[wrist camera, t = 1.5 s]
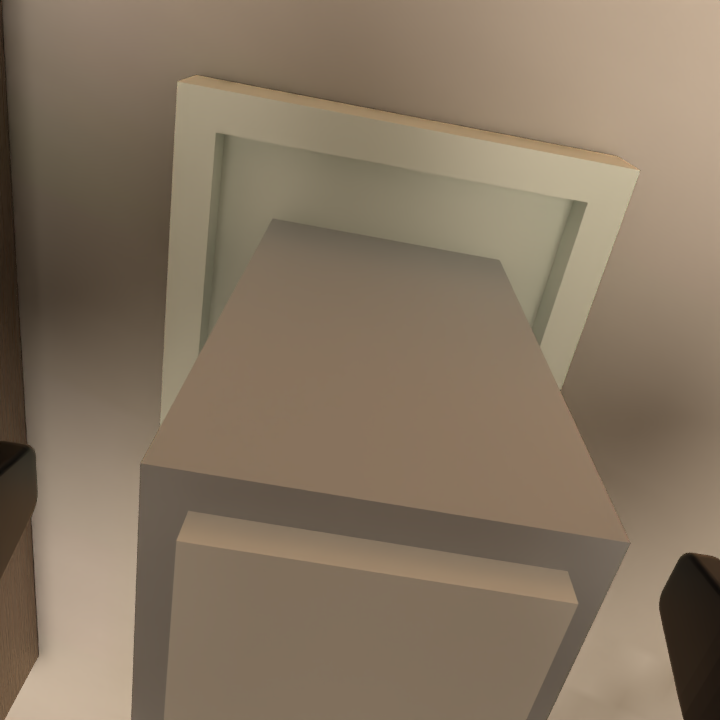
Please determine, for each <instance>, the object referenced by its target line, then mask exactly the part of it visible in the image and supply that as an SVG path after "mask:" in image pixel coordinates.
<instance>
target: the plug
mask: <svg viewBox="0 0 720 720" xmlns="http://www.w3.org/2000/svg"><path fill="white" fill-rule="evenodd" d="M629 545H630V541H629V538H628V536H627V534H626V532H625V530H624V528H623V525H622V523H621V521H620V519H619V517H618V515H617V513H616V510H615V508H614V506H613V504H612V502H611V500H610V497H609V495H608V493H607V491H606V489H605V487H604V484H603V482H602V480H601V478H600V476H599V474H598V471H597V469H596V467H595V465H594V463H593V461H592V459H591V456H590V454H589V452H588V450H587V448H586V446H585V443H584V441H583V439H582V437H581V435H580V433H579V430H578V428H577V426H576V424H575V422H574V420H573V417H572V415H571V413H570V411H569V409H568V407H567V405H566V402H565V400H564V398H563V396H562V394H561V392H560V389H559V387H558V385H557V383H556V381H555V379H554V376H553V374H552V372H551V370H550V368H549V366H548V363H547V361H546V359H545V357H544V355H543V353H542V351H541V348H540V346H539V344H538V342H537V340H536V338H535V335H534V333H533V331H532V329H531V327H530V325H529V322H528V320H527V318H526V316H525V314H524V312H523V309H522V307H521V305H520V303H519V301H518V299H517V296H516V294H515V292H514V290H513V288H512V286H511V284H510V281H509V279H508V277H507V275H506V273H505V271H504V268H503V266H502V264H501V262H500V260H497V259H491V258H486V257H480V256H475V255H469V254H464V253H458V252H453V251H447V250H442V249H437V248H431V247H426V246H420V245H415V244H409V243H404V242H398V241H393V240H387V239H382V238H376V237H371V236H366V235H360V234H355V233H349V232H344V231H338V230H333V229H327V228H322V227H316V226H311V225H305V224H300V223H295V222H289V221H284V220H278V219H272V221H271V222H270V224H269V226H268V228H267V230H266V232H265V234H264V235H263V237H262V239H261V241H260V243H259V245H258V247H257V248H256V250H255V252H254V254H253V256H252V258H251V259H250V261H249V263H248V265H247V267H246V269H245V271H244V272H243V274H242V276H241V278H240V280H239V282H238V284H237V285H236V287H235V289H234V291H233V293H232V295H231V297H230V298H229V300H228V302H227V304H226V306H225V308H224V310H223V311H222V313H221V315H220V317H219V319H218V321H217V323H216V324H215V326H214V328H213V330H212V332H211V334H210V335H209V337H208V339H207V341H206V343H205V345H204V347H203V348H202V350H201V352H200V354H199V356H198V358H197V360H196V361H195V363H194V365H193V367H192V369H191V371H190V373H189V374H188V376H187V378H186V380H185V382H184V384H183V386H182V387H181V389H180V391H179V393H178V395H177V397H176V399H175V400H174V402H173V404H172V406H171V408H170V410H169V411H168V413H167V415H166V417H165V419H164V421H163V423H162V424H161V426H160V428H159V430H158V432H157V434H156V436H155V437H154V439H153V441H152V443H151V445H150V447H149V449H148V450H147V452H146V454H145V456H144V458H143V460H142V462H141V465H140V492H139V520H138V547H137V575H136V602H135V630H134V657H133V685H132V712H131V720H547V719H548V716H549V714H550V712H551V710H552V708H553V706H554V704H555V702H556V700H557V697H558V695H559V693H560V691H561V689H562V687H563V685H564V683H565V681H566V678H567V676H568V674H569V672H570V670H571V668H572V666H573V664H574V662H575V659H576V657H577V655H578V653H579V651H580V649H581V647H582V645H583V642H584V640H585V638H586V636H587V634H588V632H589V630H590V628H591V626H592V623H593V621H594V619H595V617H596V615H597V613H598V611H599V609H600V607H601V604H602V602H603V600H604V598H605V596H606V594H607V592H608V590H609V588H610V585H611V583H612V581H613V579H614V577H615V575H616V573H617V571H618V568H619V566H620V564H621V562H622V560H623V558H624V556H625V554H626V552H627V549H628V547H629Z"/></svg>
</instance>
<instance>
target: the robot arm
mask: <svg viewBox="0 0 720 720" xmlns="http://www.w3.org/2000/svg"><path fill="white" fill-rule="evenodd" d="M36 502H37V474H36V456H35V451H34V449H33V448H32V447H31V446H30V445H28V444H22V443H16V442H10V441H0V581H1V579H2V576H3V574H4V572H5V570H6V568H7V566H8V564H9V562H10V560H11V558H12V556H13V553H14V551H15V549H16V547H17V545H18V543H19V541H20V539H21V537H22V535H23V533H24V530H25V528H26V526H27V524H28V522H29V520H30V518H31V516H32V514H33V511H34V509H35V506H36ZM659 610H660V616H661V620H662V625H663V630H664V634H665V639H666V643H667V648H668V653H669V657H670V662H671V667H672V671H673V676H674V681H675V685H676V690H677V695H678V699H679V703H680V707H681V711H682V715H683V719H684V720H720V560H719V559H718V558H716V557H713V556H709V555H703V554H697V553H685V554H683V555H682V556H681V557H680V559H679V560H678V562H677V564H676V566H675V568H674V570H673V571H672V573H671V575H670V577H669V579H668V581H667V583H666V585H665V587H664V589H663V591H662V593H661V596H660V602H659Z"/></svg>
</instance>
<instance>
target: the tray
mask: <svg viewBox="0 0 720 720" xmlns="http://www.w3.org/2000/svg"><path fill="white" fill-rule="evenodd" d="M640 171H641V170H639V169H637V168H636V167H634V166H633V165H631V164H629V163H628V162H626V161H625V160H623V159H621V158H620V157H618V156H614V155H609V154H604V153H599V152H593V151H588V150H583V149H578V148H573V147H568V146H562V145H557V144H552V143H547V142H542V141H536V140H531V139H526V138H521V137H516V136H511V135H505V134H500V133H495V132H490V131H485V130H479V129H474V128H469V127H464V126H459V125H454V124H448V123H443V122H438V121H433V120H428V119H422V118H417V117H412V116H407V115H402V114H397V113H391V112H386V111H381V110H376V109H371V108H365V107H360V106H355V105H350V104H345V103H340V102H334V101H329V100H324V99H319V98H314V97H308V96H303V95H298V94H293V93H288V92H283V91H277V90H272V89H267V88H262V87H257V86H251V85H246V84H241V83H236V82H231V81H226V80H220V79H215V78H210V77H205V76H200V75H194V76H191V77H189V78H186V79H183V80H180V81H177V94H176V114H175V133H174V153H173V173H172V193H171V212H170V232H169V252H168V272H167V291H166V311H165V331H164V351H163V370H162V390H161V410H160V426H161V424H162V423H163V421H164V419H165V417H166V415H167V413H168V411H169V410H170V408H171V406H172V404H173V402H174V400H175V399H176V397H177V395H178V393H179V391H180V389H181V387H182V386H183V384H184V382H185V380H186V378H187V376H188V374H189V373H190V371H191V369H192V367H193V365H194V363H195V361H196V360H197V358H198V356H199V354H200V352H201V350H202V348H203V347H204V345H205V343H206V341H207V339H208V337H209V335H210V334H211V332H212V330H213V328H214V326H215V324H216V323H217V321H218V319H219V317H220V315H221V313H222V311H223V310H224V308H225V306H226V304H227V302H228V300H229V298H230V297H231V295H232V293H233V291H234V289H235V287H236V285H237V284H238V282H239V280H240V278H241V276H242V274H243V272H244V271H245V269H246V267H247V265H248V263H249V261H250V259H251V258H252V256H253V254H254V252H255V250H256V248H257V247H258V245H259V243H260V241H261V239H262V237H263V235H264V234H265V232H266V230H267V228H268V226H269V224H270V222H271V221H272V219H278V220H284V221H289V222H295V223H300V224H305V225H311V226H316V227H322V228H327V229H333V230H338V231H344V232H349V233H355V234H360V235H366V236H371V237H376V238H382V239H387V240H393V241H398V242H404V243H409V244H415V245H420V246H426V247H431V248H437V249H442V250H447V251H453V252H458V253H464V254H469V255H475V256H480V257H486V258H491V259H497V260H500V262H501V264H502V266H503V268H504V271H505V273H506V275H507V277H508V279H509V281H510V284H511V286H512V288H513V290H514V292H515V294H516V296H517V299H518V301H519V303H520V305H521V307H522V309H523V312H524V314H525V316H526V318H527V320H528V322H529V325H530V327H531V329H532V331H533V333H534V335H535V338H536V340H537V342H538V344H539V346H540V348H541V351H542V353H543V355H544V357H545V359H546V361H547V363H548V366H549V368H550V370H551V372H552V374H553V376H554V379H555V381H556V383H557V385H558V387H559V389H560V391H561V389H562V386H563V383H564V380H565V378H566V375H567V372H568V369H569V367H570V364H571V361H572V358H573V355H574V353H575V350H576V347H577V344H578V342H579V339H580V336H581V333H582V331H583V328H584V325H585V322H586V320H587V317H588V314H589V311H590V309H591V306H592V303H593V300H594V298H595V295H596V292H597V289H598V286H599V284H600V281H601V278H602V275H603V273H604V270H605V267H606V264H607V262H608V259H609V256H610V253H611V251H612V248H613V245H614V242H615V240H616V237H617V234H618V231H619V229H620V226H621V223H622V220H623V217H624V215H625V212H626V209H627V206H628V204H629V201H630V198H631V195H632V193H633V190H634V187H635V184H636V182H637V179H638V176H639V173H640Z"/></svg>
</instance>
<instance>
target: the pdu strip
mask: <svg viewBox="0 0 720 720" xmlns="http://www.w3.org/2000/svg"><path fill="white" fill-rule="evenodd" d="M0 441H10V442H16V443H22V444H26V429H25V412H24V394H23V377H22V359H21V342H20V324H19V307H18V289H17V272H16V254H15V237H14V219H13V202H12V184H11V167H10V149H9V132H8V114H7V97H6V80H5V62H4V45H3V27H2V10H1V0H0ZM37 658H38V639H37V621H36V604H35V586H34V569H33V551H32V534H31V518H30V520H29V522H28V524H27V526H26V528H25V530H24V533H23V535H22V537H21V539H20V541H19V543H18V545H17V547H16V549H15V551H14V553H13V556H12V558H11V560H10V562H9V564H8V566H7V568H6V570H5V572H4V574H3V576H2V579H1V581H0V720H4V719H5V718H6V716H7V714H8V712H9V710H10V708H11V706H12V705H13V703H14V701H15V699H16V697H17V695H18V693H19V691H20V690H21V688H22V686H23V684H24V682H25V680H26V678H27V677H28V675H29V673H30V671H31V669H32V667H33V665H34V664H35V662H36V660H37Z"/></svg>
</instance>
